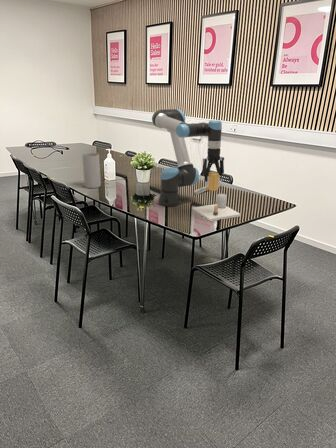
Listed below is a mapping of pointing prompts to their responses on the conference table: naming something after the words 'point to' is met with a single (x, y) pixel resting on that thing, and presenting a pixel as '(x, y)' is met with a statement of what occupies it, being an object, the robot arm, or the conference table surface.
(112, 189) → the conference table surface
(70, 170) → the conference table surface
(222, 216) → the plate
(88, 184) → the cylinder vase
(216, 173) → the wire cap
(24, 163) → the conference table surface
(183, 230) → the conference table surface
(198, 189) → the wrench
